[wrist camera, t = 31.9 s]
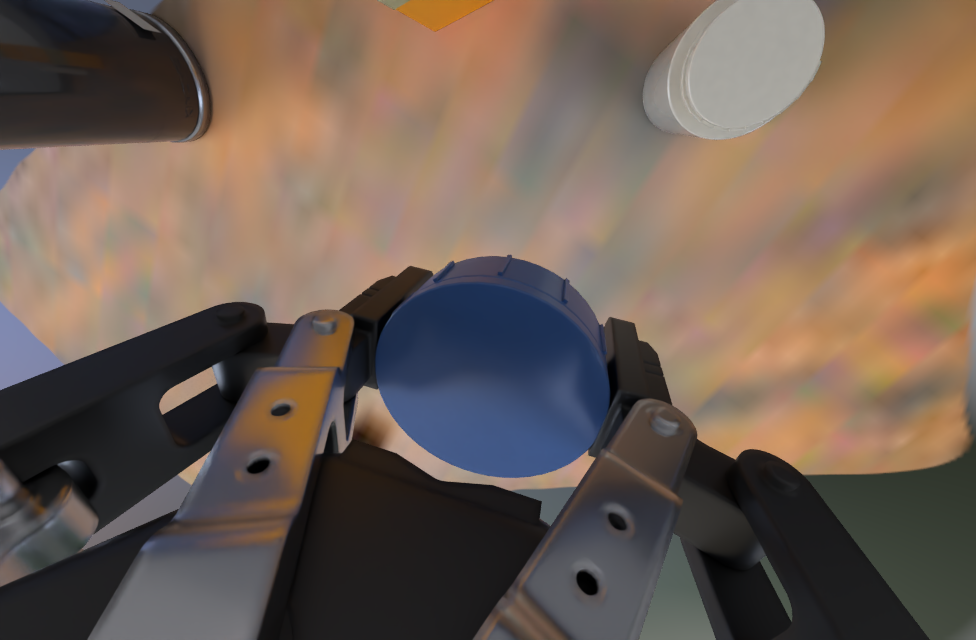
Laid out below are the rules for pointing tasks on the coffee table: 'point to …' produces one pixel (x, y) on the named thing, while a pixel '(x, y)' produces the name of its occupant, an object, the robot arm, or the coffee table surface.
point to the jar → (735, 67)
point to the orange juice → (435, 10)
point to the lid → (496, 368)
